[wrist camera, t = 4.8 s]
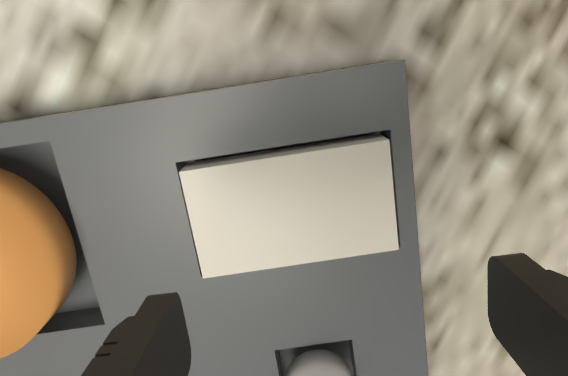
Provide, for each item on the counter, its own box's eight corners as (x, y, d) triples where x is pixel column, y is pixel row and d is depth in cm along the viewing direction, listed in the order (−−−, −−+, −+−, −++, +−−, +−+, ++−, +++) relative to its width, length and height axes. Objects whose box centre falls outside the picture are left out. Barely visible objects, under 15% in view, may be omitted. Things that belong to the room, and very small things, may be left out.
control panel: (387, 61, 22) (412, 59, 18) (415, 384, 27) (439, 439, 23) (-138, 144, 23) (-227, 160, 19) (-12, 443, 28) (-60, 506, 24)
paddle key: (379, 133, 21) (389, 139, 19) (388, 234, 23) (399, 249, 21) (187, 162, 21) (178, 171, 19) (209, 260, 23) (202, 278, 21)
